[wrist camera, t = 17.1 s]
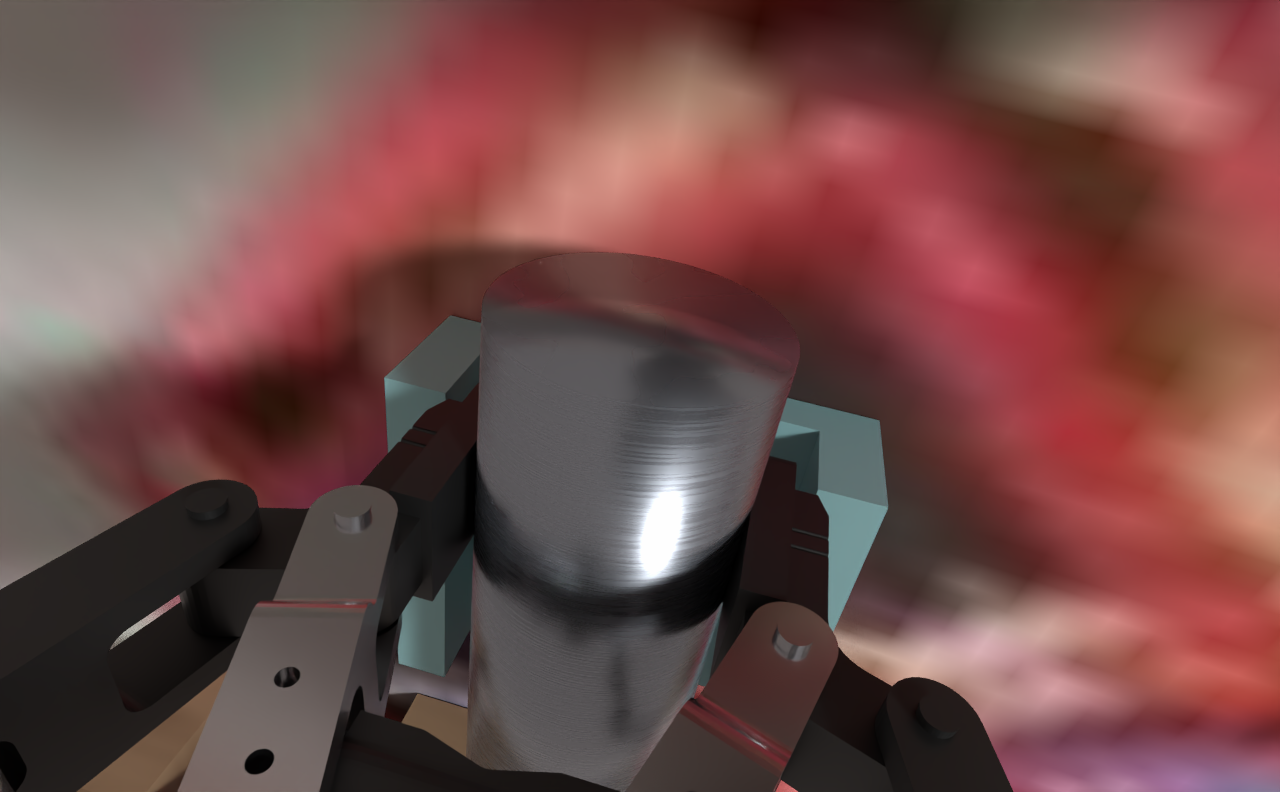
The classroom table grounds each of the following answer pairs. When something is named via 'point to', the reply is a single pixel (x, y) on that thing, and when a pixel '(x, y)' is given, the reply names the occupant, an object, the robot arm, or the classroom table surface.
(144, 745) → the brown notched block
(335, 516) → the robot arm
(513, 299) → the axle
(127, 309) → the classroom table surface
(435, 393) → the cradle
